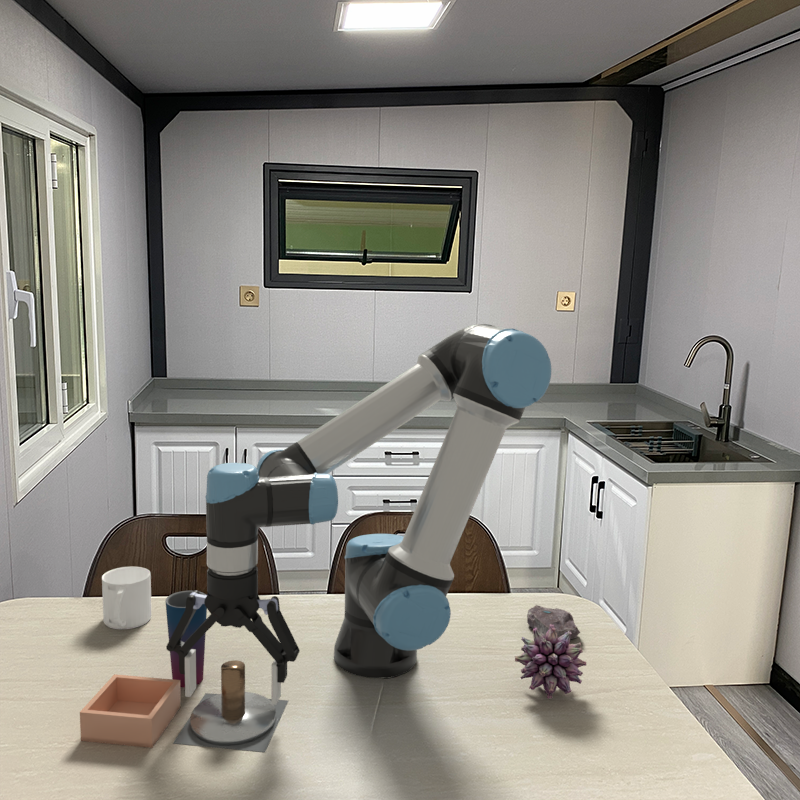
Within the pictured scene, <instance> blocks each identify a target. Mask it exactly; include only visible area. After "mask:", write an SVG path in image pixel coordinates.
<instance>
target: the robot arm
mask: <svg viewBox="0 0 800 800" xmlns="http://www.w3.org/2000/svg"><path fill="white" fill-rule="evenodd" d="M551 378H552V363H551V358H550V357H549V354H548V350H547V348H546V347H545V346H544V345H543V343H542V342H541V341H540V340H539V339H538V338H537V337H535V336H533V335H531V334H529V333H527V332H524V331H522V330H520V329H519V330H518V329H516V328H507V327H501V326H495V325H492V324H487V323H477V324H474V325H469V326H466V327H464V328H461V329H459V330H457V331H456V332H454V333H452V334H451V335H449V336H447V337H446V338H444V339H442V340H441V341H439V342H438V343H436V344H435V345H433V346H432V347H430V348H428V349H427V350H426V351H424V352H422V353H421V354H420V355H418V357H417V362H416V364H415V365H413V366H412V367H410V368H408V369H406V370H405V371H403V372H402V373H401V374H400V375H398V376H397V377H394V378H393V379H391V381H388V382H387V383H386V384H384V385H382V386H380V387H379V388H378V389H376V390H375V391H373V392H372V393H370V394H369V395H367V396H365V397H364V398H362V399H361V400H360V401H358V402H356V403H355V404H353V405H352V406H350V407H349V408H347V409H345V410H344V411H342V412H341V413H339V414H338V415H336V416H334V417H333V418H332V419H330V420H329V421H327V422H325V423H324V424H323V425H320V426H319V427H318V428H316V429H314V430H313V431H312V432H310V433H308V434H307V435H306V436H304V437H302V438H301V439H300V440H298V441H296V442H294V443H292V444H291V445H289V446H288V447H287V448H284V449H273V450H270V451H267V452H266V453H264V455H262V456H261V458H259V460H258V463H257V465H256V466H255V465H253V464H251V463H247V462H246V463H245V462H240V463H239V462H226V463H220V464H216V465H214V466H213V467H211V468H210V469H209V470H208V472H207V475H206V476H207V477H206V493H205V510H206V511H205V514H206V515H205V517H206V566H207V567H208V569H206V591H207V594H206V595H201V594H200V593H199V592H200V591H199V590H196V589H195V590H192V591H193V592H192V593H191V594H190V595H189V596H188V598H187V599H186V608H185V611H184V613H183V615H182V617H181V619H180V621H179V623H178V625H177V627H176V629H175V631H174V633H173V635H172V637H171V638H170V640H169V639H168V643H167V644H166V647H165V648H166V650H167V651H168V652H170V651H174V652H176V653H178V655H179V671H180V674H185V687H184V690H185V691H184V694H185V695H184V697H186V698H191V696H192V695H193V694H194V692H195V691H196V689H197V685H196V650H195V649H191V648H192V647H193V646H194V644H195V643H196V642H197V641H198V640H199V639H200V638H201V637H202V636H203V635H204V634H205V633H206V634H207V632H208V631H209V630H210V629H211V628H212V627H213V625H215V624H216V623H218V624H219V625H220V627H224V628H225V627H233V628H239V629H240V628H242V627H245V629H246V630H247V631H248V632H249V633H252V634H253V636H254V637H255V638H256V639H257V640H258V642H260V644H261V645H262V647H264V649H265V650H266V651H267V653H268V654H269V656H271V657H272V659H273V662H272V664H271V695H270V696H271V697H270V699H271V705H276V704H277V702H278V700H280V698H281V695H282V694H281V693H282V685H281V684H283V683H285V681H286V679H287V677H288V662H296V660H297V658H298V656H299V654H300V648H299V646H298V644H297V642H296V640H295V637H294V636H293V634H292V632H291V629H290V627H289V625H288V623H287V622H286V620H285V617H284V615H283V613H282V611H281V608H280V600H279V597H278V596H276V595H274V596H272V597H271V598H269V599H266V598H264V599H261V598H260V596H259V593H258V592H259V568H258V566H257V565H258V563H259V562H258V560H259V551H258V550H259V533H258V532H259V528H269V527H281V526H297V525H300V526H301V525H315V524H320V523H327V522H331V521H332V520H334V519H335V517H336V515H337V514H338V509H339V492H338V485H337V483H336V479H335V478H334V476H333V475H332V474H330V473H332V472H333V471H335V470H336V469H338V468H339V467H341V466H343V465H344V464H345V463H347V462H348V461H350V460H352V459H353V458H354V457H356V456H357V455H359V454H360V453H362V452H364V451H366V450H367V449H369V448H370V447H371V446H373V445H374V444H375V443H377V442H379V441H380V440H382V439H384V438H385V437H386V436H389V434H392V433H393V432H394V431H396V430H397V429H398V428H400V427H401V426H403V425H405V424H406V423H408V422H409V421H411V420H413V418H415V417H417V416H419V415H420V414H422V413H423V412H424V411H426V410H427V409H429V408H431V407H432V406H434V405H435V404H437V403H439V402H440V401H443V402H450V401H451V400H453V399H454V401H455V403H456V411H455V413H454V414H453V417H452V420H451V421H450V425H449V427H448V429H447V432H446V434H445V436H444V438H443V442H442V444H441V446H440V449H439V451H438V454H437V456H436V459H435V461H434V463H433V466H432V468H431V470H430V472H429V474H428V478H427V479H426V483H425V485H424V487H423V489H422V493H421V494H420V497H419V499H418V502H417V504H416V507H415V509H414V511H413V513H412V516H411V519H410V521H409V523H408V526H407V528H406V531H405V533H404V535H399V534H393V533H371V534H363V535H362V534H361V535H359V536H356V537H353V538H350V540H348V542H347V543H346V546H345V547H346V548H345V555H344V560H345V561H344V562H345V565H344V567H345V568H344V570H345V573H344V574H345V575H344V577H345V578H344V618H343V622H342V624H341V627H340V629H339V631H338V634H337V638H336V640H335V643H334V647H333V660H334V662H335V664H336V665H337V666H338V667H339V668H340V669H342V670H343V671H344V672H347V674H348V673H349V674H351V675H354V676H359V677H363V678H370V679H372V678H374V679H376V678H377V679H381V678H382V679H390V678H394V677H397V676H400V675H403V674H405V673H407V672H409V671H410V670H411V669H413V667H414V666H415V665H416V664H417V660H418V659H417V656H418V650H421V649H423V648H424V647H426V646H430V645H432V644H433V643H435V642H436V641H437V640H439V638H441V637H442V636H443V634H444V633H445V631H446V630H447V628H448V626H449V624H450V620H451V616H452V614H451V607H450V602H449V599H448V597H447V595H448V592H449V590H450V588H451V586H452V583H453V581H454V579H455V578H454V577H455V574H454V571H453V569H452V567H451V561H452V559H453V556H454V554H455V552H456V549H457V547H458V545H459V542H460V540H461V537H462V534H463V533H464V530H465V528H466V526H467V524H468V520H469V519H470V515H471V513H472V510H473V509H474V506H475V503H476V501H477V499H478V497H479V494H480V492H481V489H482V488H483V485H484V482H485V480H486V477H487V476H488V473H489V471H490V468H491V465H492V463H493V461H494V458H495V455H496V454H497V451H498V450H499V446H500V444H501V443H502V439H503V437H504V435H505V432H506V430H507V429H508V428H509V427H511V426H514V425H516V424H518V423H520V421H521V419H522V416H523V415H524V412H525V410H526V408H528V407H530V406H532V405H533V404H534V403H537V402H538V401H540V400H541V399H542V397H544V395H545V394H546V392H547V390H548V388H549V386H550V383H551ZM198 591H199V592H198ZM202 604H205V606H206V608H207V611H208V612H209V616H208V617H206V620H205V621H204V622H203V623H202V624H201V625H200V627H199V628H198V629H197V630H196V631H195V632H194V633H193V634H192V635H191V636H190V637H189V638H188V639H187V641H185V642H182V641H180V640H181V638H182V637H183V635H184V633H185V631H186V629H187V627H188V625H189V623H190V621H191V619H192V617H193V615H194V614H195V612H196V610H197V609H199V608H200V607H201V605H202ZM259 609H261V610H262V611H263V613H264V615H265V616H267V618H268V620H269V623H270V625H271V627H272V630H273V631H274V633H275V634H274V633H273V632H272V631H271V630H270V629H269V627H268V626H267V625H266V624H265V622H264V621H263V619H262V616H261V615H260V614H259V613H258V610H259ZM206 634H205V635H206ZM275 635H276V636H275ZM190 649H191V650H190Z"/></svg>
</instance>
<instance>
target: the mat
mask: <svg viewBox="0 0 800 800" xmlns="http://www.w3.org/2000/svg"><path fill="white" fill-rule="evenodd" d="M218 694H219V693H218ZM218 694H217V693H211V692H210V693H209V692H205V693H204V694H203V696H202V698H201V699H200V701H199V703H201V702H202V701H204V700H206V699H208V698H210V697H212V696H215V695H218ZM268 699H269V700H270V701H271V698H268ZM199 703H198V704H199ZM288 703H289V700H288V699H279V700H278V702H277V704H276V705H274V706H275V710H276V719H275V724H274V726H273V727H272V729H271V730H270V731H269V732H268V733H267V734H265V735H264V736H262V737H261V738H259V739H257V740H254V741H252V742H249V743H245V744H241V745H234V746H219V745H213V744H209V743H206V742H203V741H201V740H200V739H198V738H197V737H196V736H195V735H194V734H193V733H192V731H191V727H190V717H189V718H188V720H187V721H186V722H185V724H184V725H183V727H182V729H181V730H180V731H179V733H178V735H177V736H176V737H175V739H174V740H173V742H172V744H173V745H182V746H183V745H185V746H195V747H196V746H197V747H206V748H214V749H215V748H216V749H225V750H237V751H247V752H249V751H250V752H257V753H266V752H267V751H266V750H267V749H268V746H269V744H270V742H271V740H272V738H273V736H274V733H275V731H276V729H277V727H278V725H279V722H280V720H281V718H282V716H283V714H284V712H285V709H286V707H287V705H288Z"/></svg>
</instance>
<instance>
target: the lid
mask: <svg viewBox="0 0 800 800" xmlns="http://www.w3.org/2000/svg"><path fill="white" fill-rule="evenodd" d="M220 680H221V682H220V683H221V688H220V689H221V690H220V691H221V692H220V693H218V695H215V696H212V697H210V698H208V699H206V700H204V701H202V702H201V703H198V704H197V705H196V706H195V707H194V708H193V710H192V711H191V714H190V716H189V718H190V727H191V731H192V733H193V734H194V735H195V736H196V737H197V738H198V739H200V740H201V741H203V742H206V743H209V744H213V745H219V746H234V745H241V744H245V743H249V742H252V741H254V740H257V739H259V738H261V737H262V736H264V735H265V734H267V733H268V732H269V731H270V730H271V729H272V727H273V726H274V724H275V719H276V710H275V706H274V705H271V701H270V700H269V699H270V698H268V697H266V696H264V695H262V694H259V693H256V692H251V691H250V692H249V691H246V664H245V663H244V662H243V661H242V660H234V659H233V660H228V661H225V662H223V663H222V664H221V667H220Z"/></svg>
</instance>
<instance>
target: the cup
mask: <svg viewBox="0 0 800 800" xmlns="http://www.w3.org/2000/svg"><path fill="white" fill-rule="evenodd" d="M193 591H194V590H183V591H178V592H174V593H172V594H170V595H169V596H167V597H166V598H165V601H164V603H165V612H166V621H167V622H166V623H167V635H168V641H169V640H170V638H171V637H172V635H173V633H174V631H175V629H176V627H177V625H178V623H179V621H180V619H181V617H182V615H183V613H184V611H185V608H186V599H187V598H188V596H189V595H190V594H191V593H192V592H193ZM197 591H198V592H199V593H200V594H201V595H207V594H206V593H204V592H201V591H199V590H197ZM207 611H208V609H207V608H206V606H205V604H202V605H201V607H200V608H199V609H197V610H196V612H195V614H194V615H193V617H192V619H191V621H190V623H189V625H188V627H187V629H186V631H185V633H184V635H183V637H182V638H181V640H180V641H182V642H185V641H187V639H188V638H189V637H190V636H191V635H192V634H193V633H194V632H195V631H196V630H197V629H198V628H199V627H200V625H201V624H202V623H203V622H204V621H205V620H206V619H207V615H208V613H207ZM206 634H207V632H206V633H205V634H204V635H203V636H202V637H201V638H200V639H199V640H198V641H197V642H196V643H195V644H194V646H193V647H192V648H191V649H195V650H196V686H198V685H200V684H201V683H202V682H203V680H204V671H205V668H204V667H205V653H206V652H205V651H206ZM191 649H190V650H191ZM169 655H170V656H169V657H170V667H171V679H173V680H180V688H185V674H180V671H179V655H178V653H176V652H174V651H169Z"/></svg>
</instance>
